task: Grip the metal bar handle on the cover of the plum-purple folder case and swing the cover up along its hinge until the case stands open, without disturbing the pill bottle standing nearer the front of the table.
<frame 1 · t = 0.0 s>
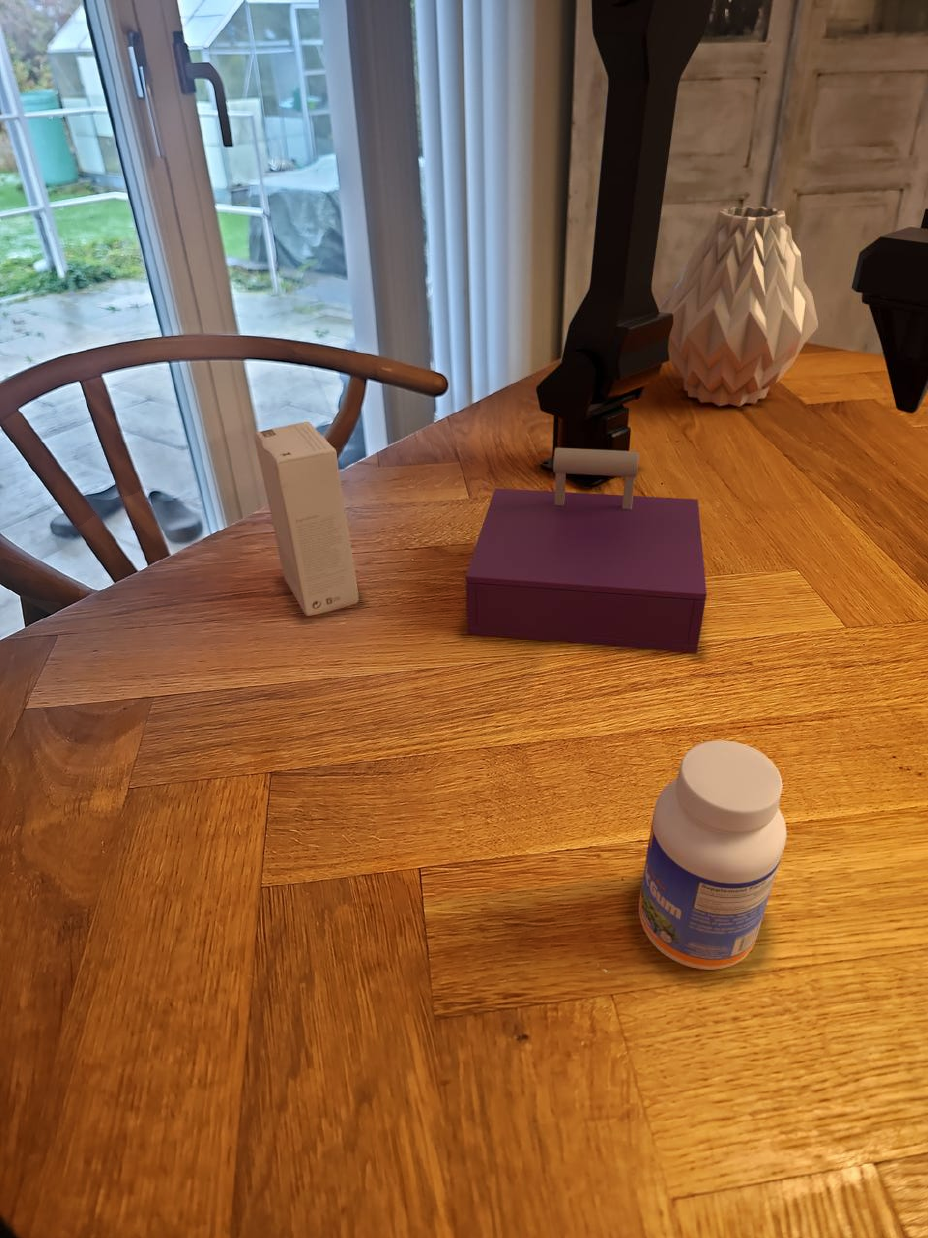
vase: (724, 396, 94), on the table
case cover: (590, 510, 58), point 7 cm above the table, hinge at 0.0°
folder case: (585, 593, 62), on the table
cosmetic box: (319, 593, 63), on the table
pill bottle: (696, 924, 39), on the table
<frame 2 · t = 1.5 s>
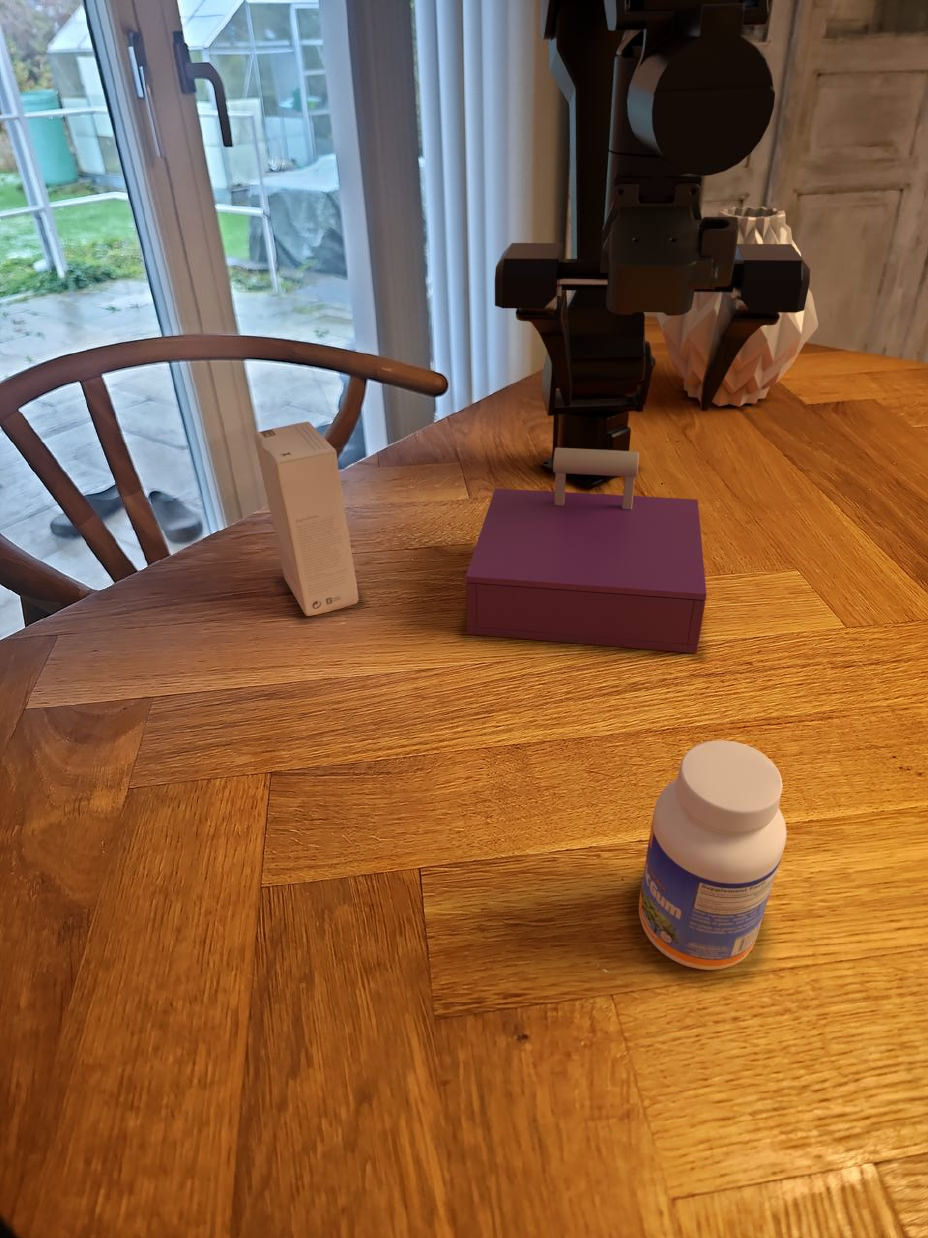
hand: (634, 407, 58), 12 cm above the table, tool pointing down, fingers open, 9 cm apart
nothing on the table moved.
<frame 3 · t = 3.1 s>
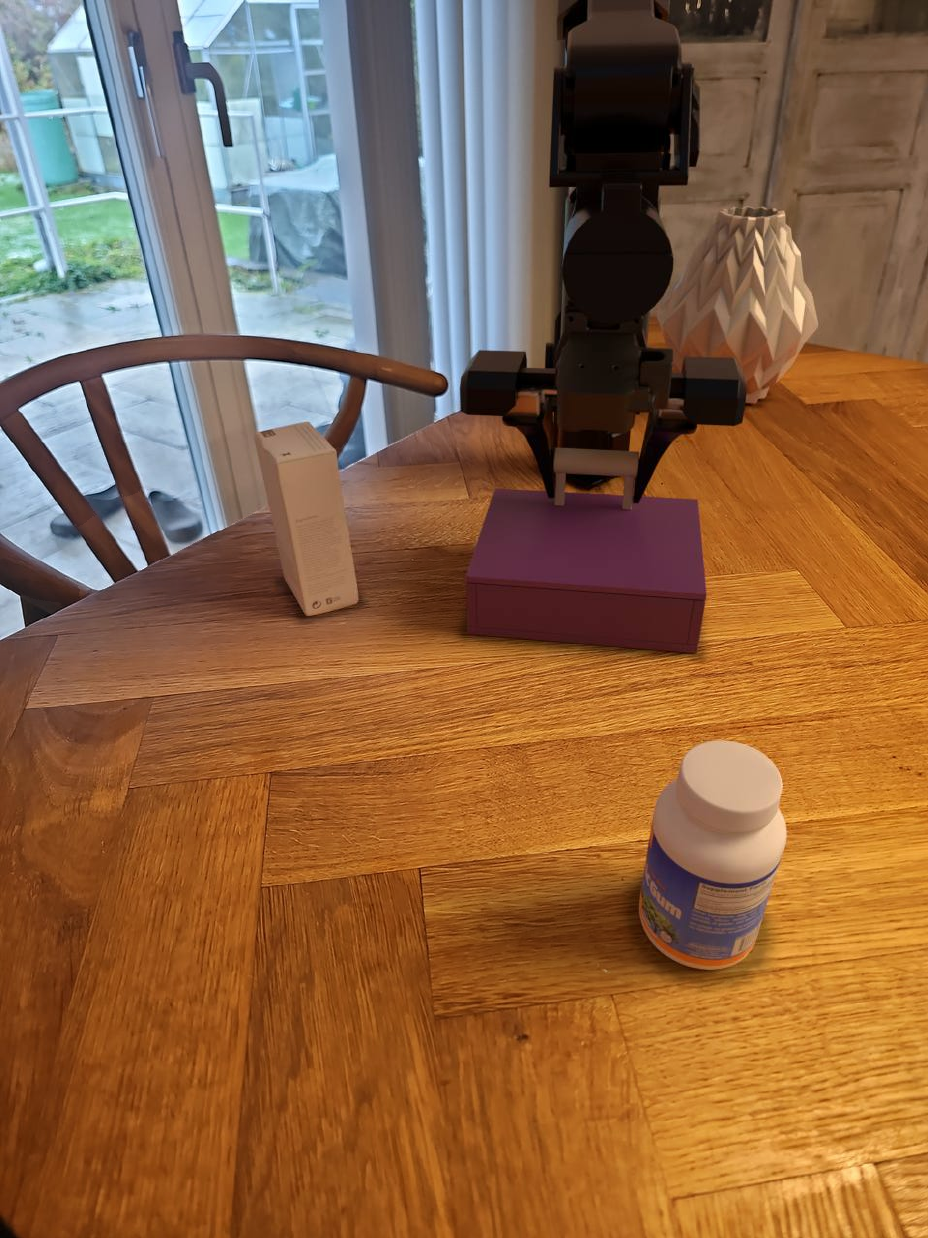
hand: (593, 498, 63), 5 cm above the table, tool pointing down, fingers closed on case cover, 6 cm apart
case cover: (590, 510, 58), point 7 cm above the table, hinge at 0.0°, touching gripper
everything else where it was.
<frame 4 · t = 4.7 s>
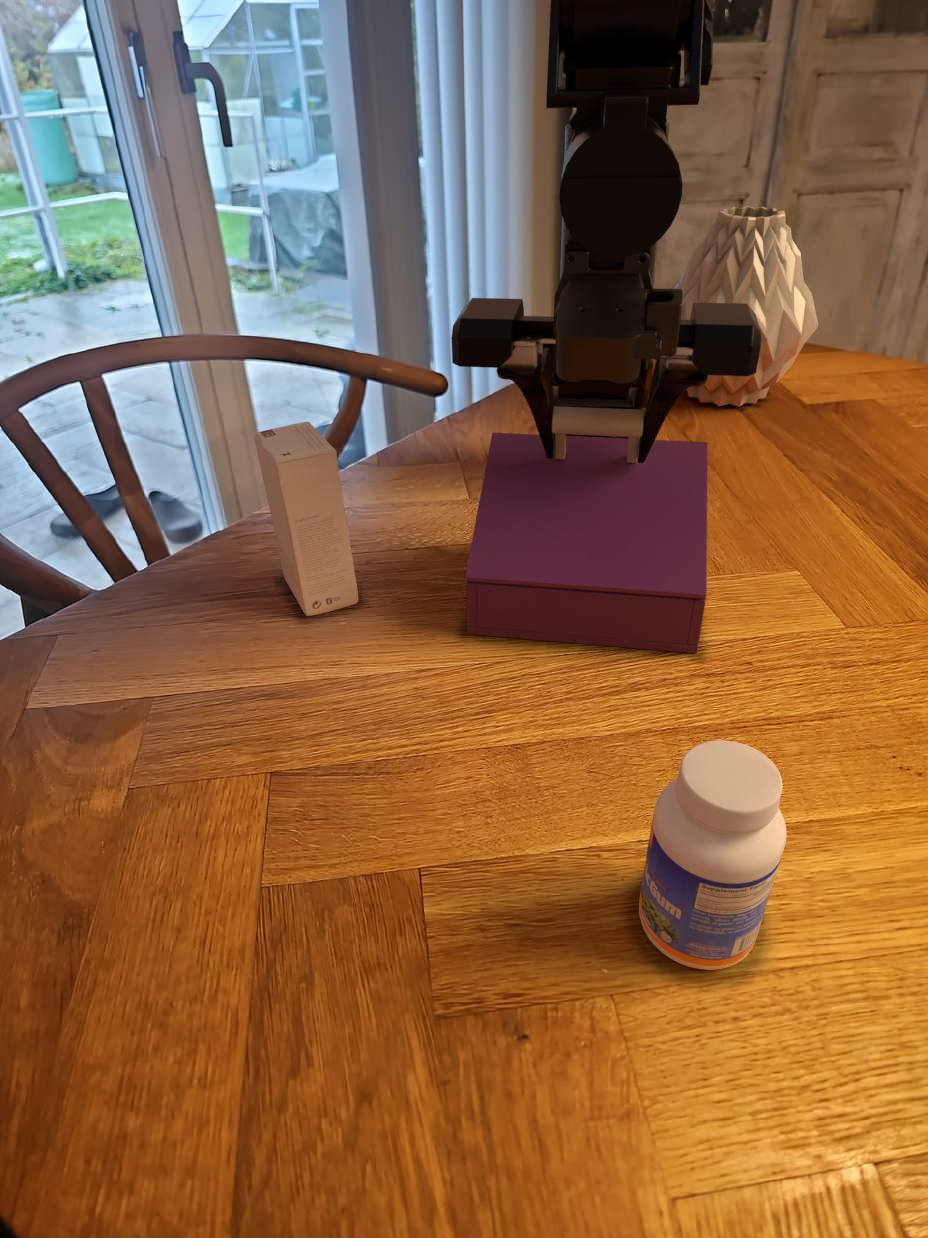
hand: (594, 458, 59), 9 cm above the table, tool pointing down, fingers closed on case cover, 6 cm apart
case cover: (591, 488, 56), point 9 cm above the table, hinge at 23.1°, touching gripper
everything else where it was.
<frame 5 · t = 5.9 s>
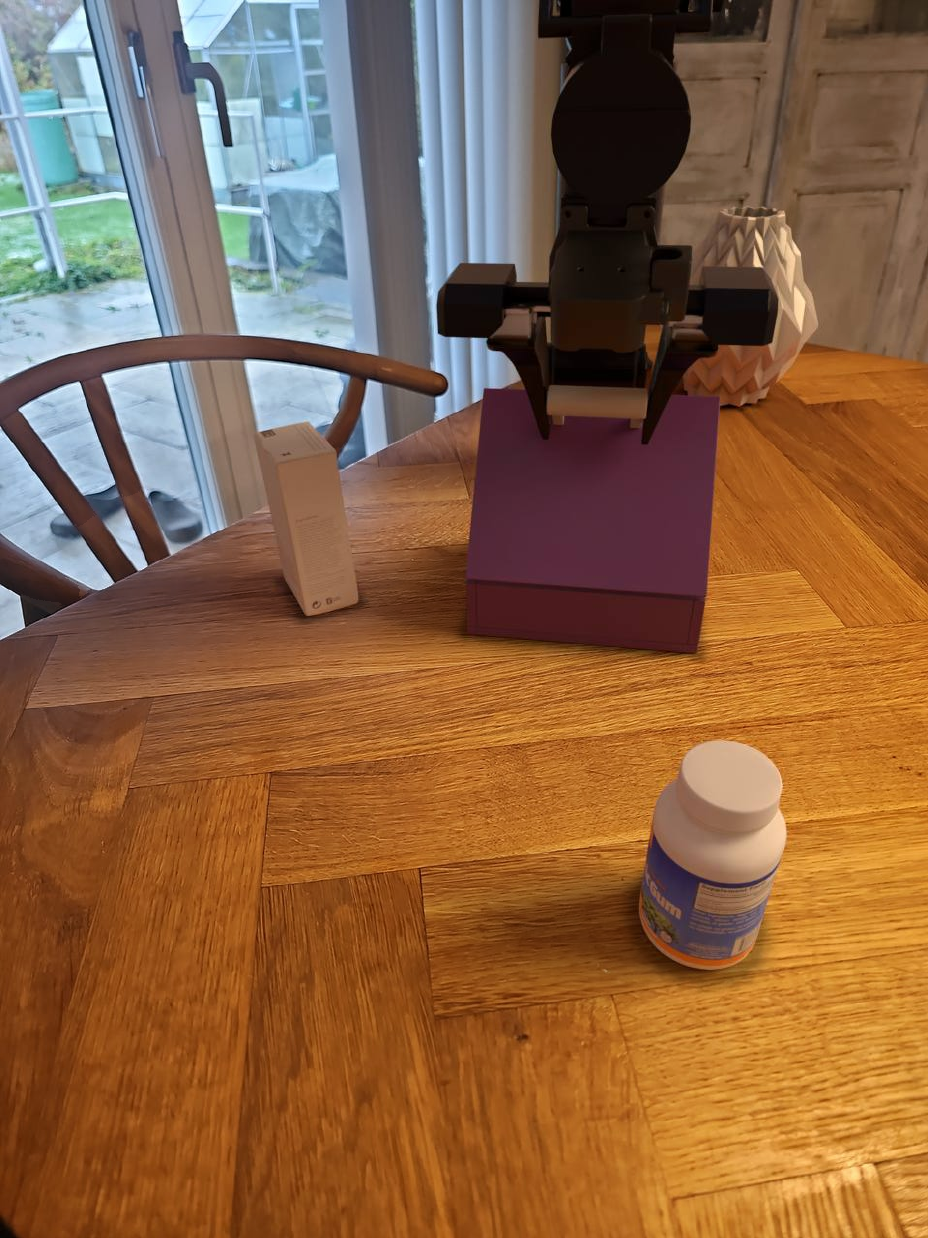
hand: (594, 439, 54), 12 cm above the table, tool pointing down, fingers closed on case cover, 6 cm apart
case cover: (591, 480, 53), point 11 cm above the table, hinge at 48.6°, touching gripper
everything else where it was.
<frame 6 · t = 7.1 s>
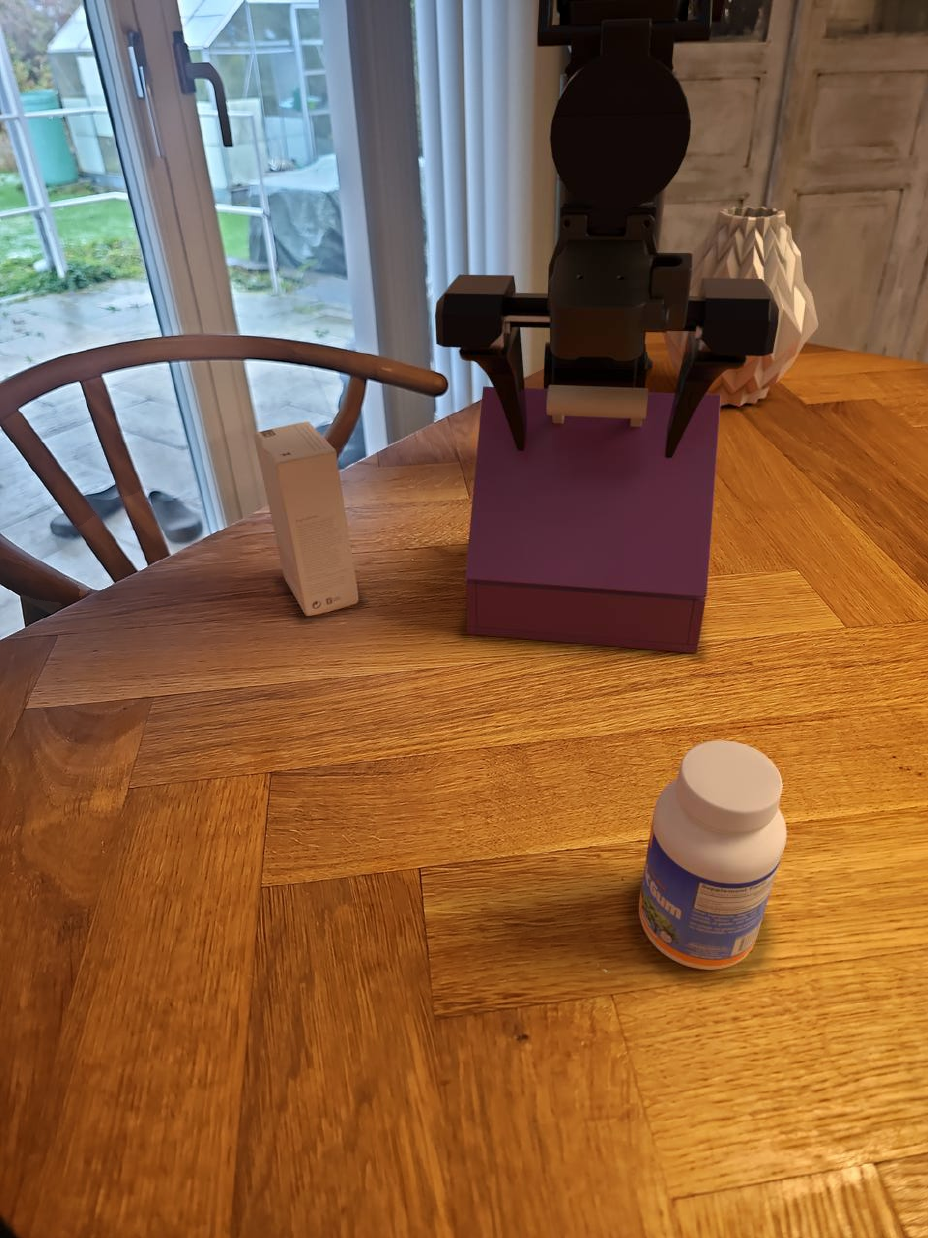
hand: (593, 452, 54), 12 cm above the table, tool pointing down, fingers open, 9 cm apart
case cover: (591, 480, 53), point 11 cm above the table, hinge at 50.0°
everything else where it was.
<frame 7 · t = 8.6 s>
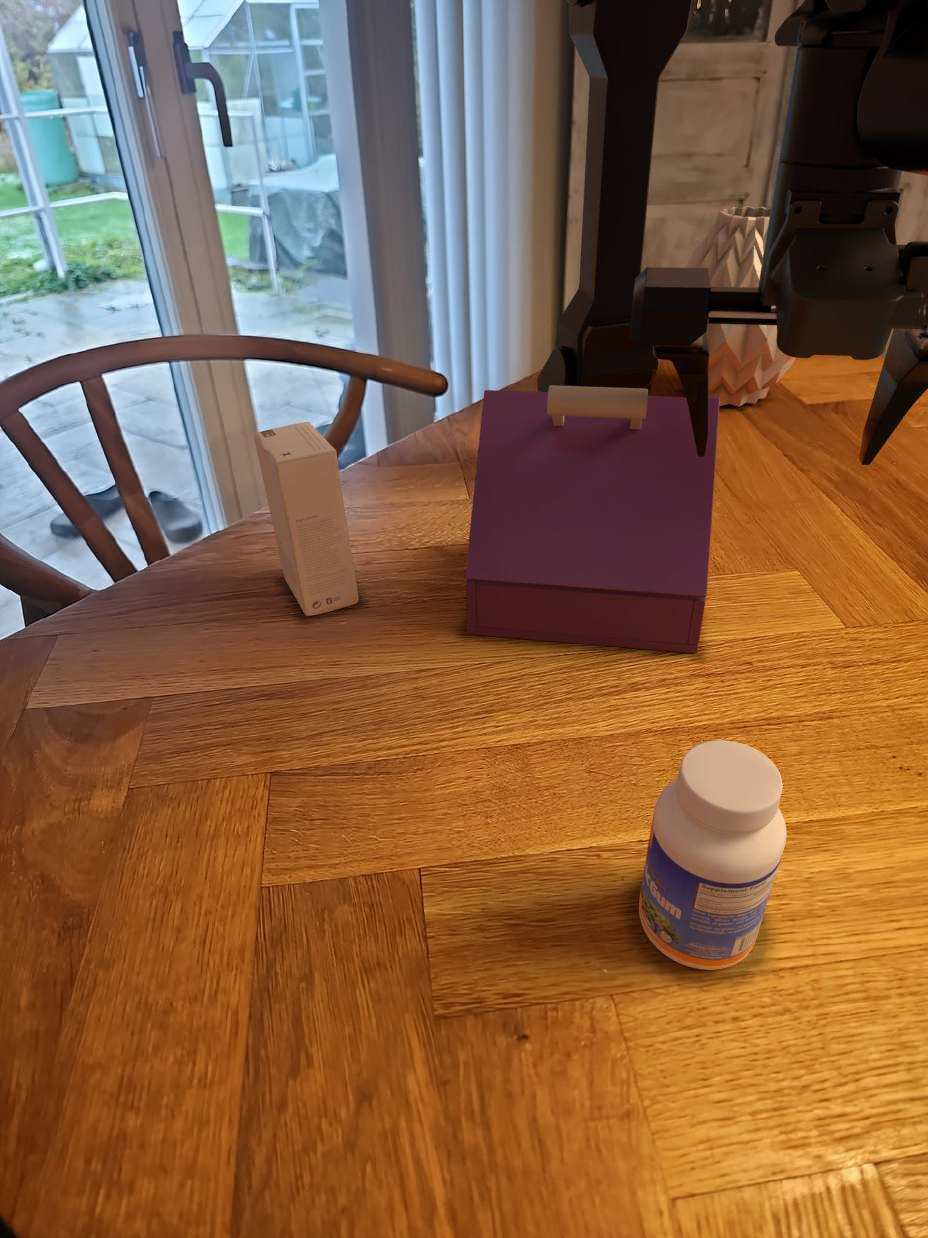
hand: (781, 458, 50), 13 cm above the table, tool pointing down, fingers open, 9 cm apart
case cover: (591, 480, 53), point 11 cm above the table, hinge at 47.2°
everything else where it was.
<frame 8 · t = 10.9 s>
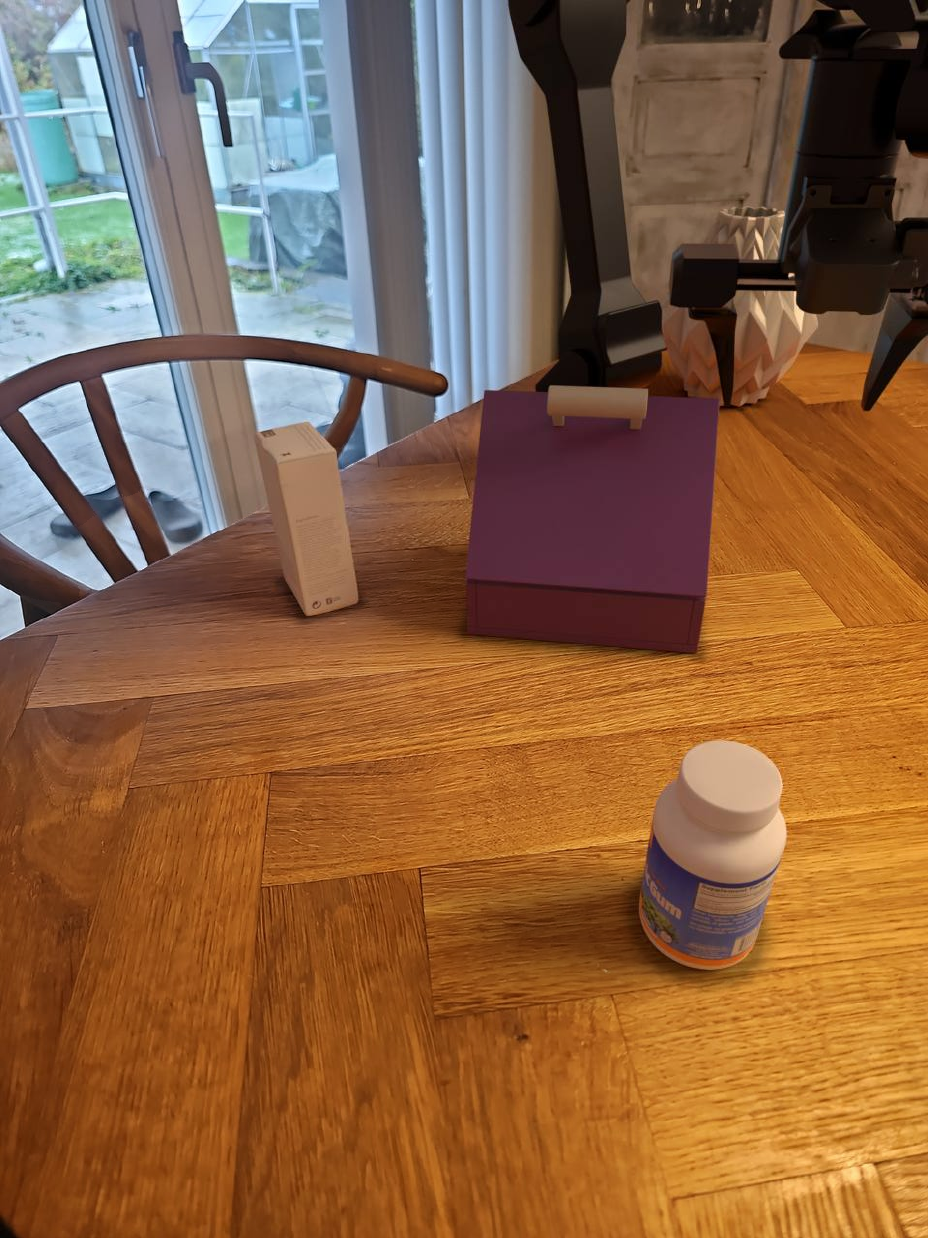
hand: (794, 406, 59), 12 cm above the table, tool pointing down, fingers open, 9 cm apart
nothing on the table moved.
at the end: case cover at +47° (first picture: +0°); pill bottle moved 0.2 cm from its start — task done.
